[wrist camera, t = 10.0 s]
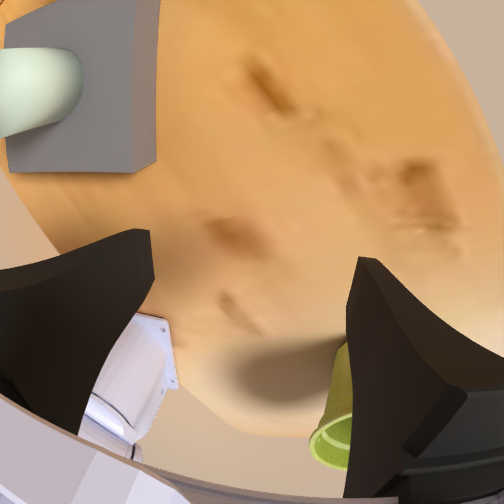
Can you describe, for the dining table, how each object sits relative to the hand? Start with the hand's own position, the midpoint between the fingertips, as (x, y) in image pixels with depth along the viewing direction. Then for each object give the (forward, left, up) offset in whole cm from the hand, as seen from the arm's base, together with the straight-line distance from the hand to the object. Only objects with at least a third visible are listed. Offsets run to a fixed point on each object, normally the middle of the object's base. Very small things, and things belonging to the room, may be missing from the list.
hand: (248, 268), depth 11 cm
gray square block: (+7, +14, -10) cm, 19 cm away
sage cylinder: (+7, +14, -7) cm, 17 cm away
